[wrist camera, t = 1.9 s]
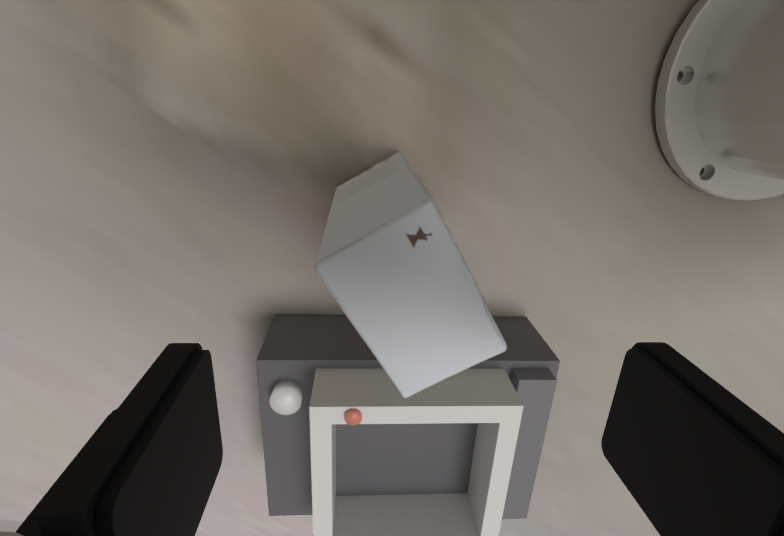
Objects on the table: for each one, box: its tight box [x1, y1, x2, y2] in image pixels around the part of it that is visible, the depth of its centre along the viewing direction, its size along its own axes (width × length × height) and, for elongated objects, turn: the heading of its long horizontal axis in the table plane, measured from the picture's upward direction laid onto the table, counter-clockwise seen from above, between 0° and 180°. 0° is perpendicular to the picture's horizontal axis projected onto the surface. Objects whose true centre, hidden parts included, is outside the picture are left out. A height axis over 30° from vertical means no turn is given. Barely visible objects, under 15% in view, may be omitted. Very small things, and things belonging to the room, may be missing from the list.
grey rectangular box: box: [256, 315, 560, 536], centre depth 25 cm, size 16×11×8 cm
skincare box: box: [315, 152, 507, 398], centre depth 19 cm, size 6×4×12 cm
